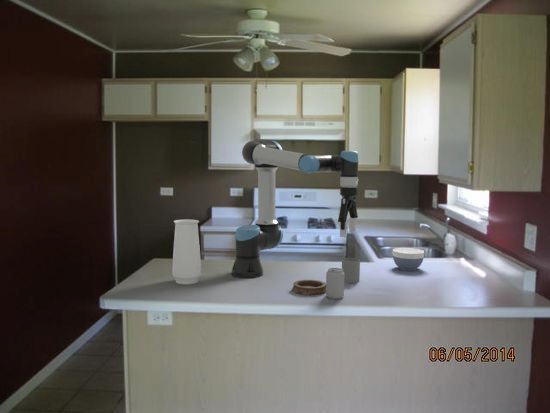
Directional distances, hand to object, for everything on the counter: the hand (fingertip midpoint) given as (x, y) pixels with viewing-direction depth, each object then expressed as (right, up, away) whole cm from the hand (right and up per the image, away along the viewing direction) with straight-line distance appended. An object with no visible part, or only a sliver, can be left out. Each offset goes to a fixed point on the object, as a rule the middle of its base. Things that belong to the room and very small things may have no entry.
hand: (347, 234), depth 232 cm
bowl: (+36, -20, +40) cm, 58 cm away
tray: (-17, -24, -3) cm, 30 cm away
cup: (+3, -23, +15) cm, 27 cm away
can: (-7, -26, -12) cm, 29 cm away
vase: (-72, -22, +9) cm, 76 cm away
